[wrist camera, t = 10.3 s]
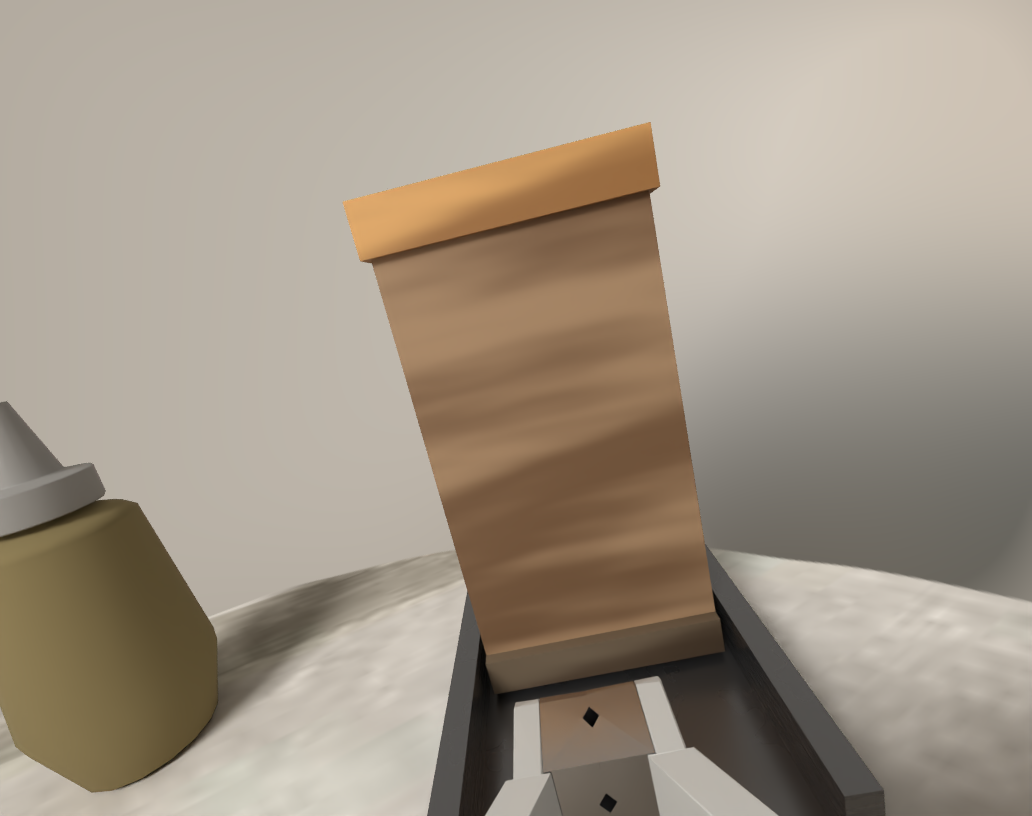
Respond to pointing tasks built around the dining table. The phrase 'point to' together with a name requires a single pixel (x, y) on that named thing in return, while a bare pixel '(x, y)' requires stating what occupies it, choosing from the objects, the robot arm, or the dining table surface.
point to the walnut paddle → (550, 404)
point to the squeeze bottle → (93, 624)
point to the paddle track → (698, 712)
